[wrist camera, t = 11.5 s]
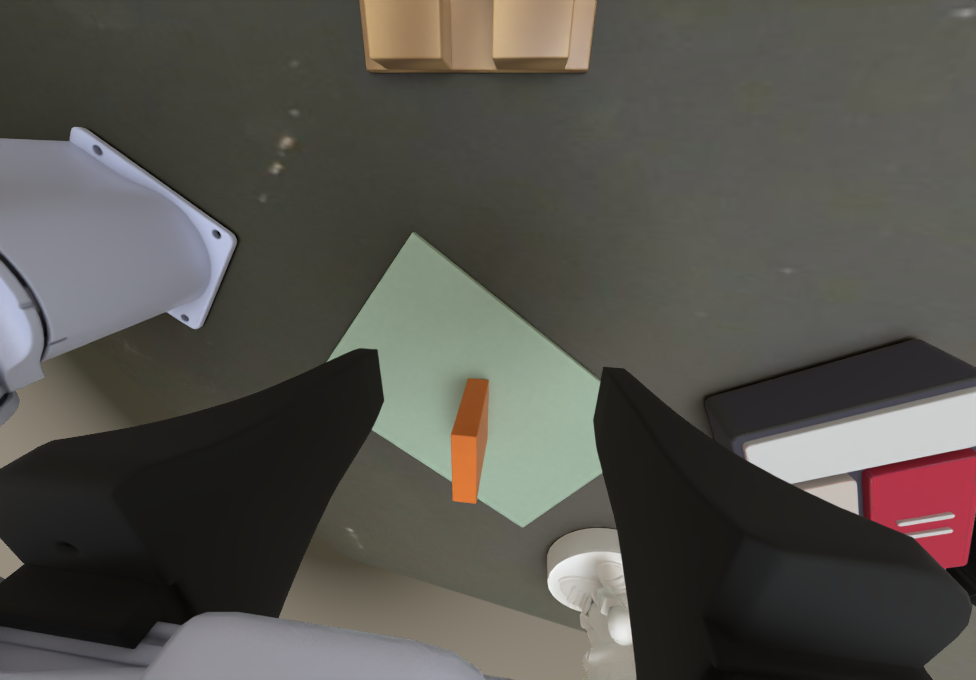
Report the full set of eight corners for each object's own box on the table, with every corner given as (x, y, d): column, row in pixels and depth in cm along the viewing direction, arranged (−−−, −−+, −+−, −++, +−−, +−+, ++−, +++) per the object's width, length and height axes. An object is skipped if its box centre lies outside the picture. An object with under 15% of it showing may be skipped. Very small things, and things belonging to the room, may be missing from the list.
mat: (311, 385, 26) (308, 388, 25) (414, 231, 20) (412, 232, 20) (522, 523, 30) (522, 528, 29) (660, 427, 24) (662, 431, 23)
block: (468, 436, 26) (452, 501, 21) (467, 377, 23) (450, 434, 19) (487, 438, 26) (476, 504, 21) (489, 379, 23) (476, 437, 18)
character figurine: (627, 515, 28) (685, 736, 17) (672, 585, 31) (745, 808, 20) (529, 544, 31) (525, 747, 20) (579, 604, 34) (599, 809, 23)
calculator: (774, 598, 25) (737, 450, 19) (741, 537, 28) (702, 397, 22) (982, 573, 21) (1018, 383, 15) (914, 508, 25) (922, 335, 19)
